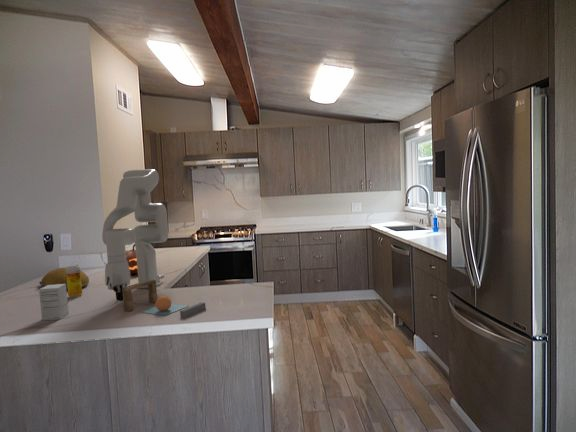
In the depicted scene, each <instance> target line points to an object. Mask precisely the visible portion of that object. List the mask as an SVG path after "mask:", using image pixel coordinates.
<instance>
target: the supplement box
mask: <svg viewBox="0 0 576 432" xmlns="http://www.w3.org/2000/svg"><path fill="white" fill-rule="evenodd" d="M38 292H39V293H38V295H39V302H40V311H41V312H40V313H41V321H51V320H52V321H54V320H61V319H63V318H64V317H66V316H68V314H69V303H68V290H67V289H66V284H55V285H47V286H43V287H41V288H39V289H38Z"/></svg>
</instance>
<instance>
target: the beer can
mask: <svg viewBox="0 0 576 432" xmlns="http://www.w3.org/2000/svg"><path fill="white" fill-rule="evenodd" d="M80 270H81V266H80V265H79V264H71V265H66V276H67V287H68V289H67V297H69V299H70V298H71V299H73V298H80V297H82V295H83V287H82V283H81V272H80Z"/></svg>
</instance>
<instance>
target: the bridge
mask: <svg viewBox="0 0 576 432" xmlns="http://www.w3.org/2000/svg"><path fill="white" fill-rule="evenodd" d="M147 285H148V288H147V294H148V296H147V297H148V303H150V304H156V301H157V299H158V292H157V286H156V280H148V281H144V282H141V283H138V282H137V283H133V284H129V285H128V286H126V287H123V288H122V291H123V300H122V301H123V311H124V312H128V313H129V312H132V311H134V303H133V293H132V291H133V290H137V289H141V288H140V287H143V286H147Z"/></svg>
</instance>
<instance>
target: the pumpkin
mask: <svg viewBox="0 0 576 432" xmlns="http://www.w3.org/2000/svg"><path fill="white" fill-rule="evenodd" d="M126 254H127V255H128V257H126V260H127V261H128V265H129V269H130V276H132V275H138V270H137V258H136V248H135V243H133V244H132V249H129V250H126Z"/></svg>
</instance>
